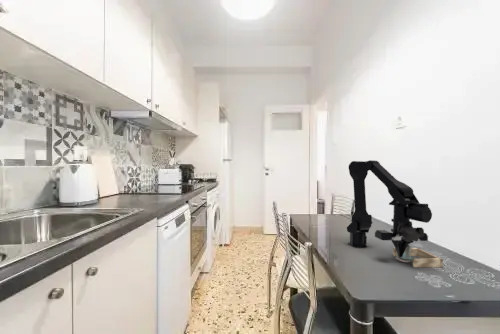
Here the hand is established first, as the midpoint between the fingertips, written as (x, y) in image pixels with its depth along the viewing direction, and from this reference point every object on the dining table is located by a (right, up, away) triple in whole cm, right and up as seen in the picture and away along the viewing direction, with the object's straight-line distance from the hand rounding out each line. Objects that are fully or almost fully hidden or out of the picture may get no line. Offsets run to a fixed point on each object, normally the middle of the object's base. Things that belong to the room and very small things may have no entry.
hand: (400, 256), depth 111 cm
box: (+7, -2, 0) cm, 7 cm away
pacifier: (+2, -2, +1) cm, 3 cm away
